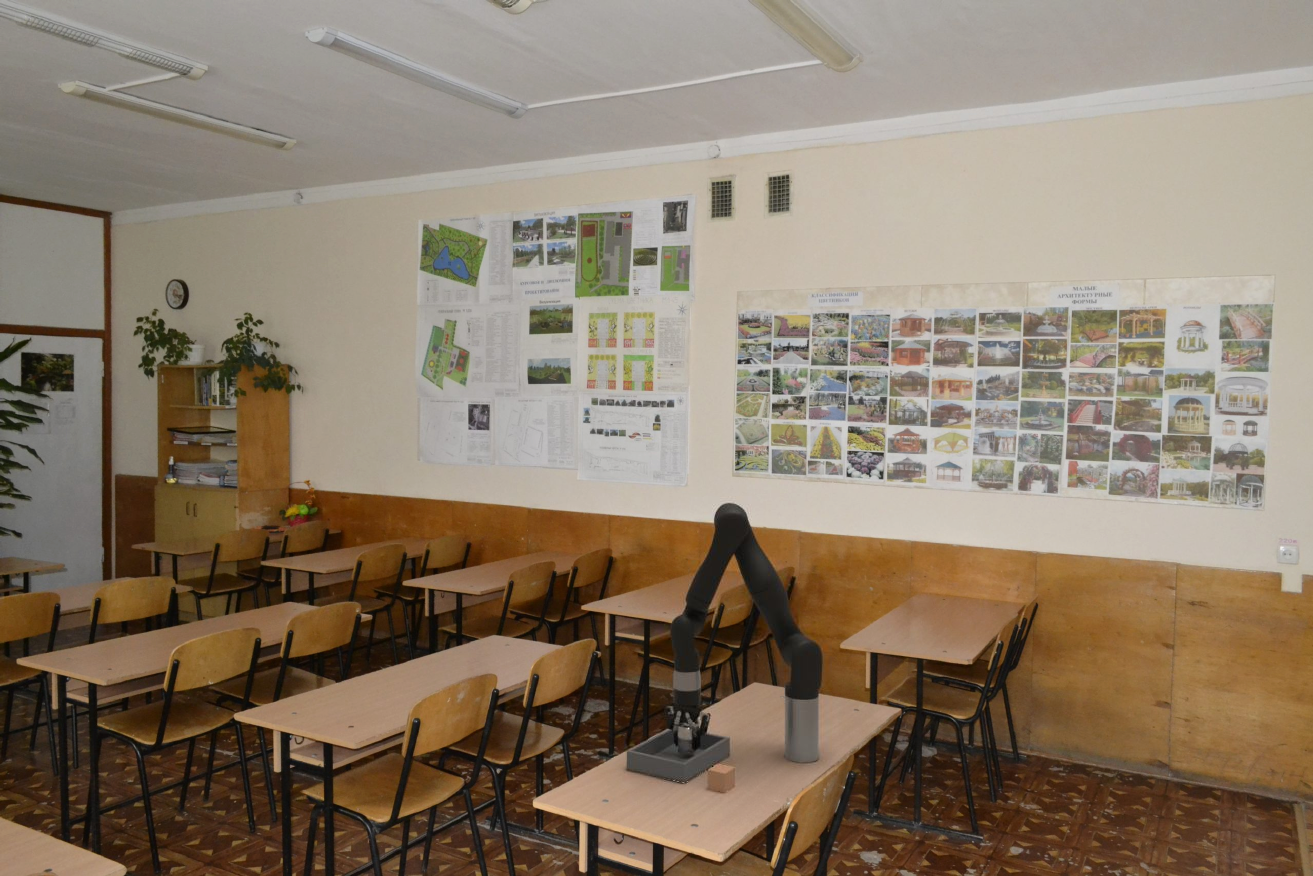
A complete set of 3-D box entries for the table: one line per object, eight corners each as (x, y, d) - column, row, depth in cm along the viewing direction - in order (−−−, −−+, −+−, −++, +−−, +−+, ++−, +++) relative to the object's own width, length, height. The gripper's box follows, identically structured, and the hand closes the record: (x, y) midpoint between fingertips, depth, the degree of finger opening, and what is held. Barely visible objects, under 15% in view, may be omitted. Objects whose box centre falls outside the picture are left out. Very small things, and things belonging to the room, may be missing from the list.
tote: (674, 743, 271) (674, 726, 271) (729, 755, 261) (729, 737, 261) (626, 769, 251) (626, 751, 251) (684, 784, 241) (684, 764, 241)
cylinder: (683, 746, 263) (683, 721, 262) (699, 749, 260) (699, 724, 260) (674, 751, 258) (674, 726, 258) (690, 755, 256) (690, 729, 256)
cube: (717, 782, 242) (717, 763, 242) (734, 787, 239) (734, 767, 239) (707, 789, 238) (707, 769, 238) (725, 793, 235) (725, 773, 235)
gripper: (716, 686, 258) (716, 748, 259) (672, 678, 266) (672, 738, 266) (702, 693, 252) (702, 756, 252) (657, 685, 260) (657, 746, 260)
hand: (686, 747), depth 259 cm, fingers closed on cylinder, 5 cm apart
